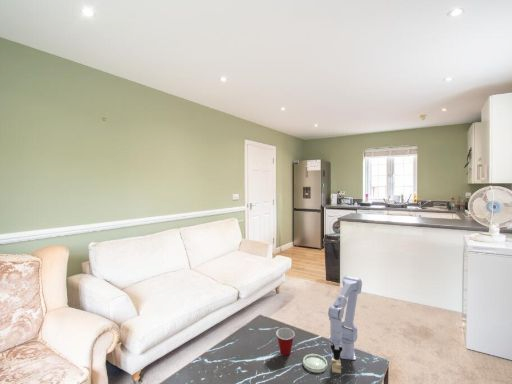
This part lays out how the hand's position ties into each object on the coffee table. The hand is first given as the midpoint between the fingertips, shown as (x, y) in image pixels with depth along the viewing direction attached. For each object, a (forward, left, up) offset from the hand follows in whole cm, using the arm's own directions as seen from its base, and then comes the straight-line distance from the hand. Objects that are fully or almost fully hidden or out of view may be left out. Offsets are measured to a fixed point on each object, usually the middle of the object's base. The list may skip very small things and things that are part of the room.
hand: (336, 355), depth 144 cm
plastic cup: (-9, -28, -8) cm, 31 cm away
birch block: (0, 0, -8) cm, 8 cm away
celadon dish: (-2, -11, -8) cm, 14 cm away
